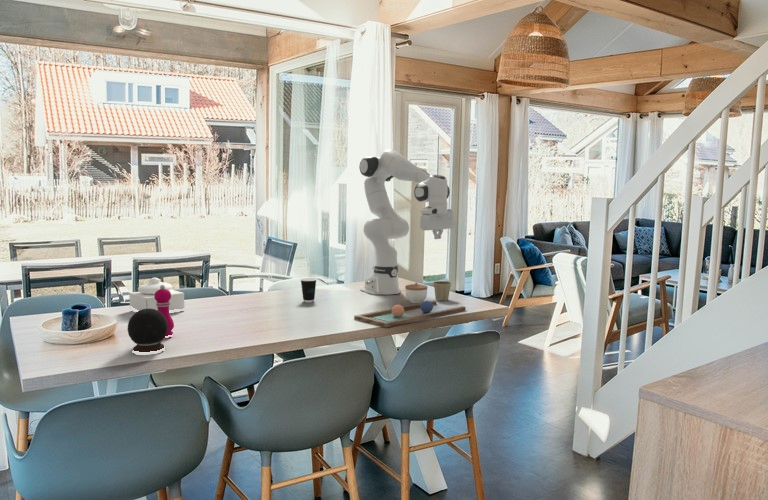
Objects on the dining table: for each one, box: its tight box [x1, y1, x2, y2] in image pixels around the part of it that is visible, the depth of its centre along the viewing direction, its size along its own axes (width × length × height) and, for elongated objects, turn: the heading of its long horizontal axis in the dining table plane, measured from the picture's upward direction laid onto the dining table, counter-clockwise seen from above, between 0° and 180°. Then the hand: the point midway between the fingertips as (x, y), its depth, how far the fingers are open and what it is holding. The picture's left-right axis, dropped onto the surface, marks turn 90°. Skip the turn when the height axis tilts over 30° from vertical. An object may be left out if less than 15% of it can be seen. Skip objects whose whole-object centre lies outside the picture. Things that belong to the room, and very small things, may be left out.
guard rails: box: [353, 300, 466, 328], centre depth 279 cm, size 20×49×2 cm, turn 132°
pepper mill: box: [154, 285, 175, 336], centre depth 239 cm, size 7×7×20 cm
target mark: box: [371, 313, 413, 322], centre depth 272 cm, size 14×14×1 cm
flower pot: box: [432, 280, 453, 302], centre depth 312 cm, size 9×9×9 cm
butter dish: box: [128, 277, 185, 311], centre depth 285 cm, size 18×18×16 cm
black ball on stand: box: [127, 308, 168, 352], centre depth 220 cm, size 13×13×15 cm
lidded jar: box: [404, 282, 428, 304], centre depth 307 cm, size 11×11×9 cm
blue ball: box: [419, 300, 434, 314], centre depth 282 cm, size 6×6×6 cm
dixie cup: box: [300, 277, 318, 303], centre depth 308 cm, size 8×8×11 cm
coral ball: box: [391, 304, 405, 317], centre depth 274 cm, size 6×6×6 cm
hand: (437, 239), depth 299 cm, fingers closed
